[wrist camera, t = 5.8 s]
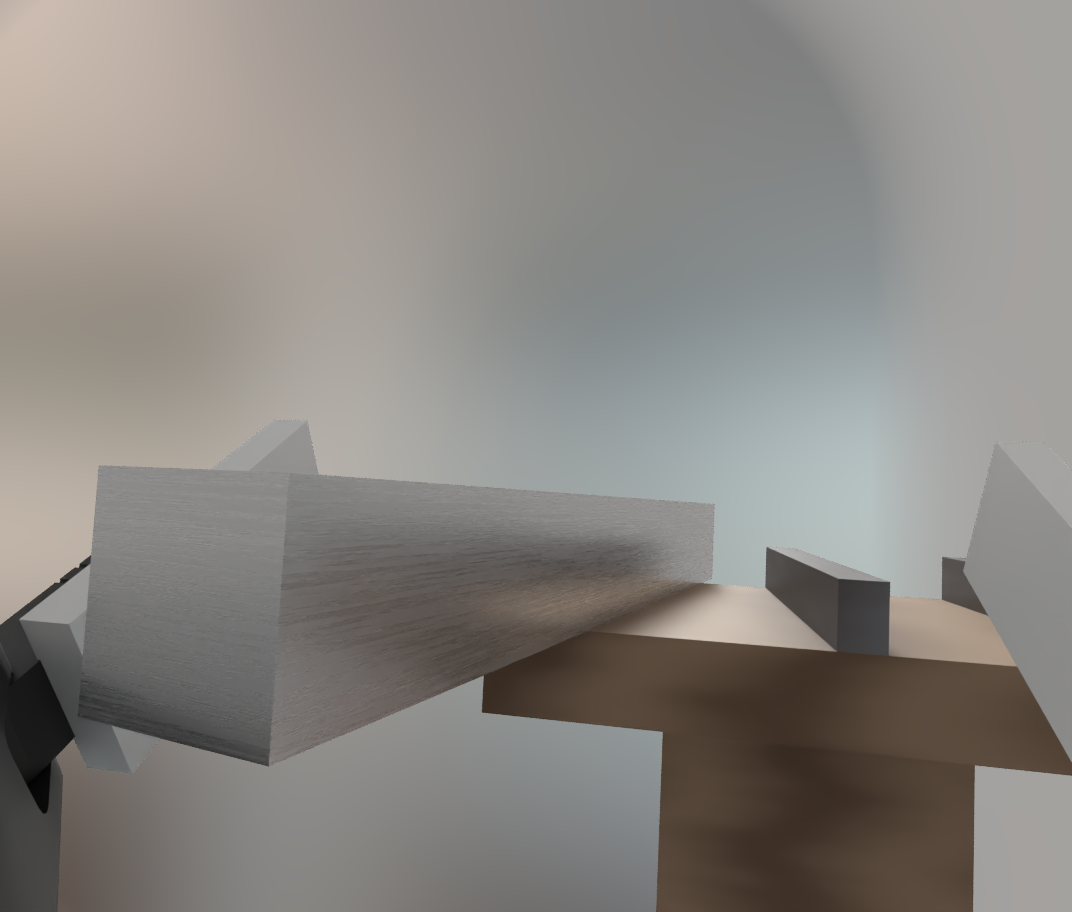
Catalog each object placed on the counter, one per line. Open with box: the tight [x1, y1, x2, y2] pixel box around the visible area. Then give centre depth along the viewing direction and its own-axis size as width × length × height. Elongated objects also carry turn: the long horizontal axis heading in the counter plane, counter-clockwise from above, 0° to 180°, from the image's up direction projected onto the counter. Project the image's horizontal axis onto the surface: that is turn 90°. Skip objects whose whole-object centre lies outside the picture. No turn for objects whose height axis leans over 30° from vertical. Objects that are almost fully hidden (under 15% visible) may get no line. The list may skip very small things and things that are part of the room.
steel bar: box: [78, 466, 714, 766], centre depth 19 cm, size 3×24×3 cm, turn 156°
